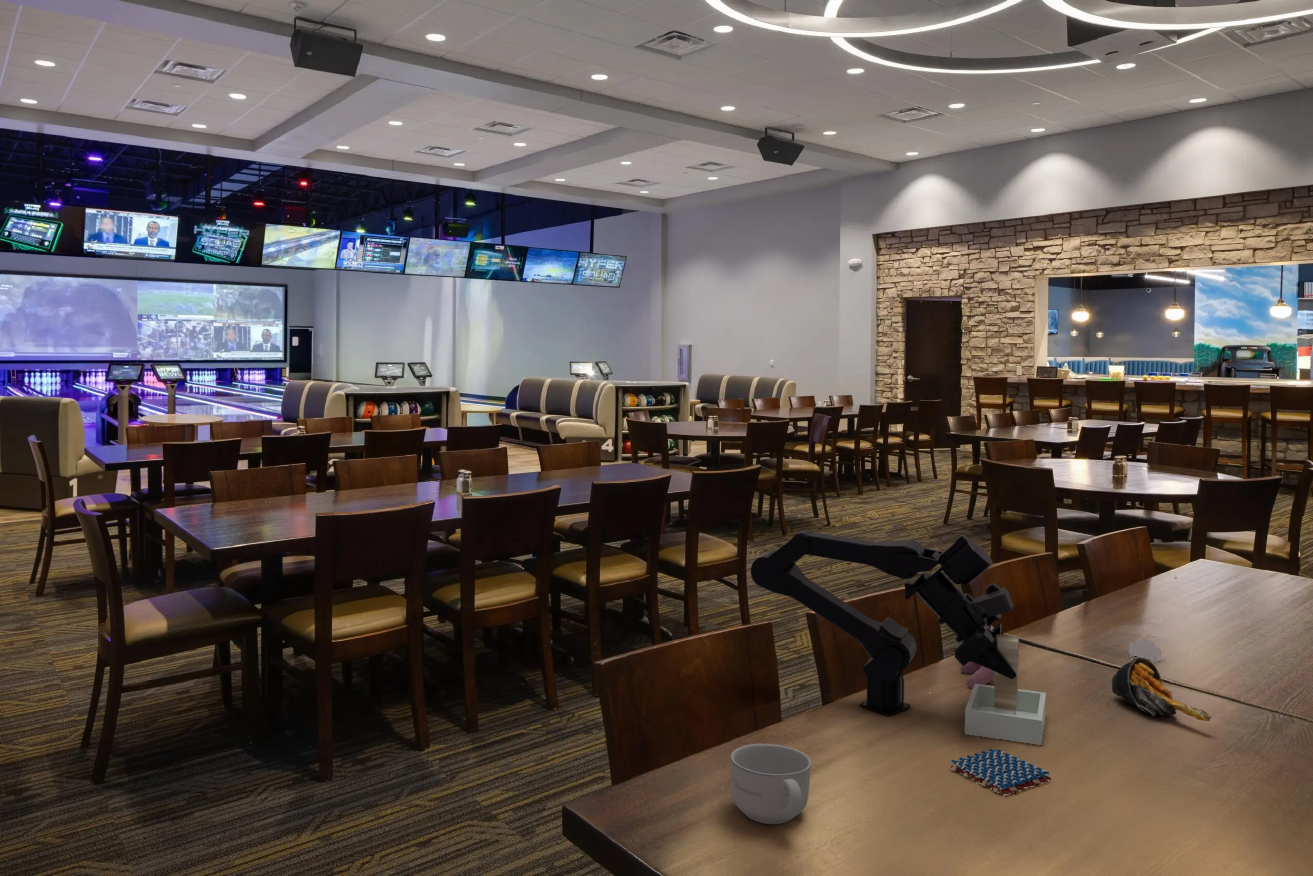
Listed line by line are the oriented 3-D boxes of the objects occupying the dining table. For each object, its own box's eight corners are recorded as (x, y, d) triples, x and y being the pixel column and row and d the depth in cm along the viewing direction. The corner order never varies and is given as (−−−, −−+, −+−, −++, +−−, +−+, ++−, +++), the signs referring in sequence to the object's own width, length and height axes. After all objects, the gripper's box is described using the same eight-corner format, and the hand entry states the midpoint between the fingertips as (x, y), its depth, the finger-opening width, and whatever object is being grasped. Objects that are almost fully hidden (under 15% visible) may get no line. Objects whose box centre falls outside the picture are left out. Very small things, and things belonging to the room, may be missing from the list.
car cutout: (1169, 661, 186) (1170, 640, 186) (1156, 668, 182) (1156, 646, 182) (1095, 645, 198) (1095, 625, 197) (1081, 651, 193) (1081, 630, 193)
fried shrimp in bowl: (1133, 666, 168) (1229, 660, 153) (1134, 727, 164) (1232, 728, 149) (1098, 653, 165) (1193, 646, 150) (1098, 715, 161) (1195, 715, 145)
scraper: (1014, 724, 149) (1016, 646, 148) (992, 720, 150) (994, 643, 149) (1018, 707, 156) (1020, 632, 155) (997, 704, 157) (998, 630, 156)
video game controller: (987, 698, 170) (1006, 666, 169) (965, 686, 170) (983, 654, 169) (979, 680, 180) (996, 650, 178) (957, 669, 180) (974, 639, 179)
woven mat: (1004, 802, 127) (1005, 788, 127) (947, 773, 137) (947, 759, 136) (1055, 785, 132) (1055, 771, 132) (996, 758, 141) (996, 745, 141)
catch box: (1041, 746, 145) (1041, 720, 144) (964, 734, 150) (965, 709, 149) (1045, 716, 157) (1045, 692, 156) (974, 706, 162) (974, 683, 161)
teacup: (725, 797, 129) (724, 742, 128) (800, 793, 130) (800, 738, 129) (742, 848, 115) (742, 787, 114) (827, 843, 116) (827, 782, 115)
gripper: (977, 584, 144) (1051, 661, 141) (988, 561, 161) (1055, 629, 157) (925, 627, 148) (996, 703, 145) (941, 600, 165) (1005, 668, 161)
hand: (1015, 673), depth 152 cm, fingers closed on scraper, 3 cm apart
